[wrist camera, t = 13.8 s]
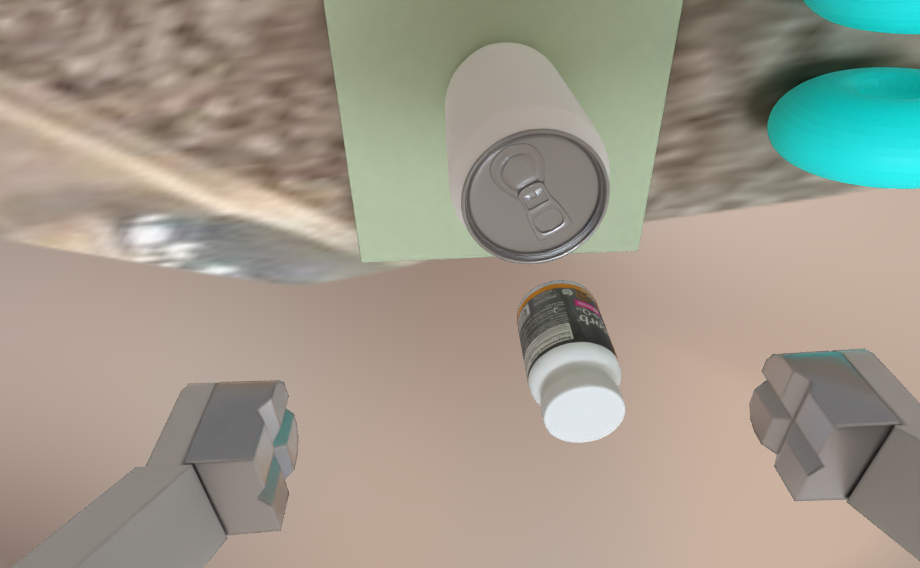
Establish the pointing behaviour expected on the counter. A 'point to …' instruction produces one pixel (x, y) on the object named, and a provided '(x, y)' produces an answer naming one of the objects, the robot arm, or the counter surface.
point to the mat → (424, 91)
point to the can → (522, 156)
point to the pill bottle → (570, 362)
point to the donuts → (856, 108)
